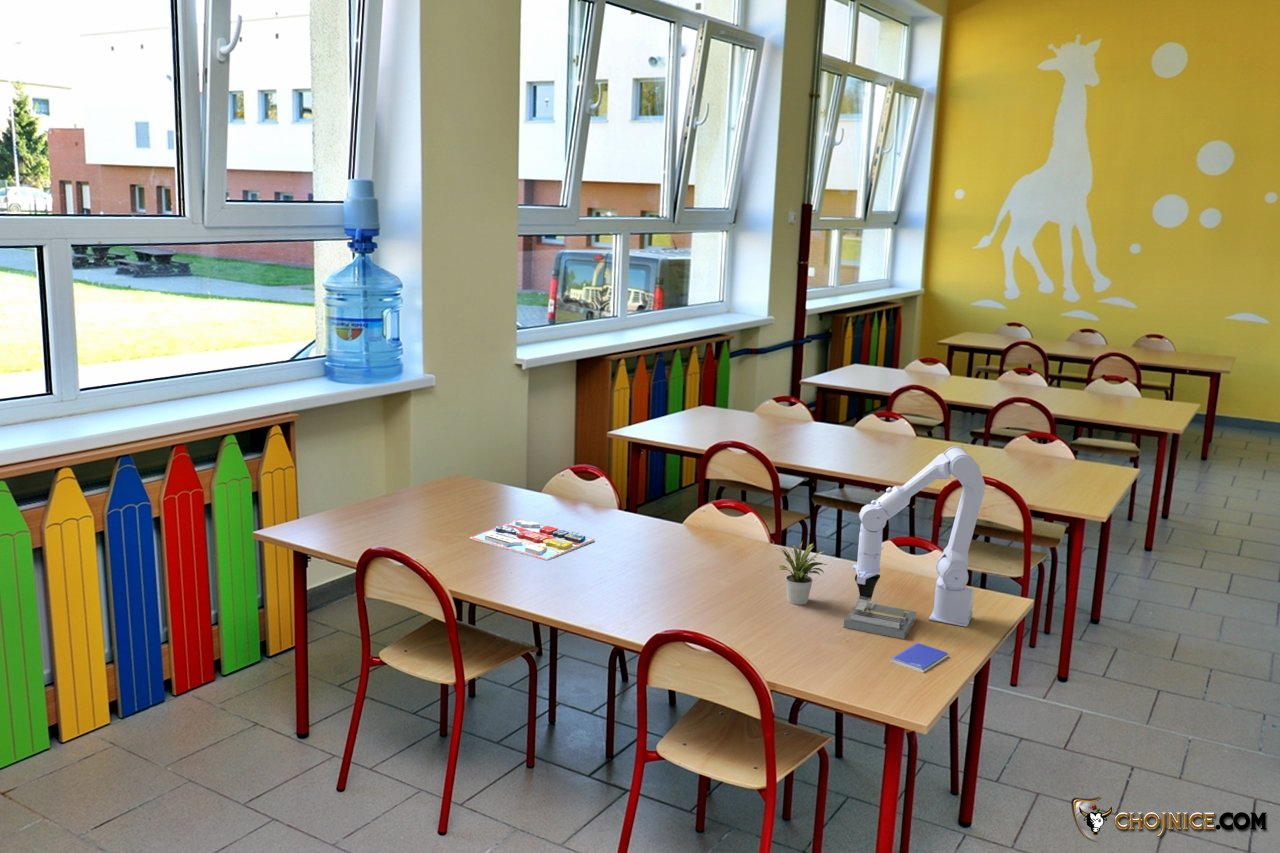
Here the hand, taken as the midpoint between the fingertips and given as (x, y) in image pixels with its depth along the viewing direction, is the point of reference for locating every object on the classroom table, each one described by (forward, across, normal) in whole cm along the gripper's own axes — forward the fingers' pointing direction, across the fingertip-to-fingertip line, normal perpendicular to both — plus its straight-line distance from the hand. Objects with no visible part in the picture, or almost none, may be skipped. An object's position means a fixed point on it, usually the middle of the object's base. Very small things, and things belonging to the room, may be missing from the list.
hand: (865, 602), depth 280 cm
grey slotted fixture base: (+3, +4, +5) cm, 7 cm away
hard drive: (+4, +21, +18) cm, 28 cm away
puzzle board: (+4, -8, -104) cm, 104 cm away
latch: (+1, +4, 0) cm, 4 cm away
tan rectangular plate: (+1, +5, +5) cm, 7 cm away
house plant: (+3, +1, -18) cm, 19 cm away
